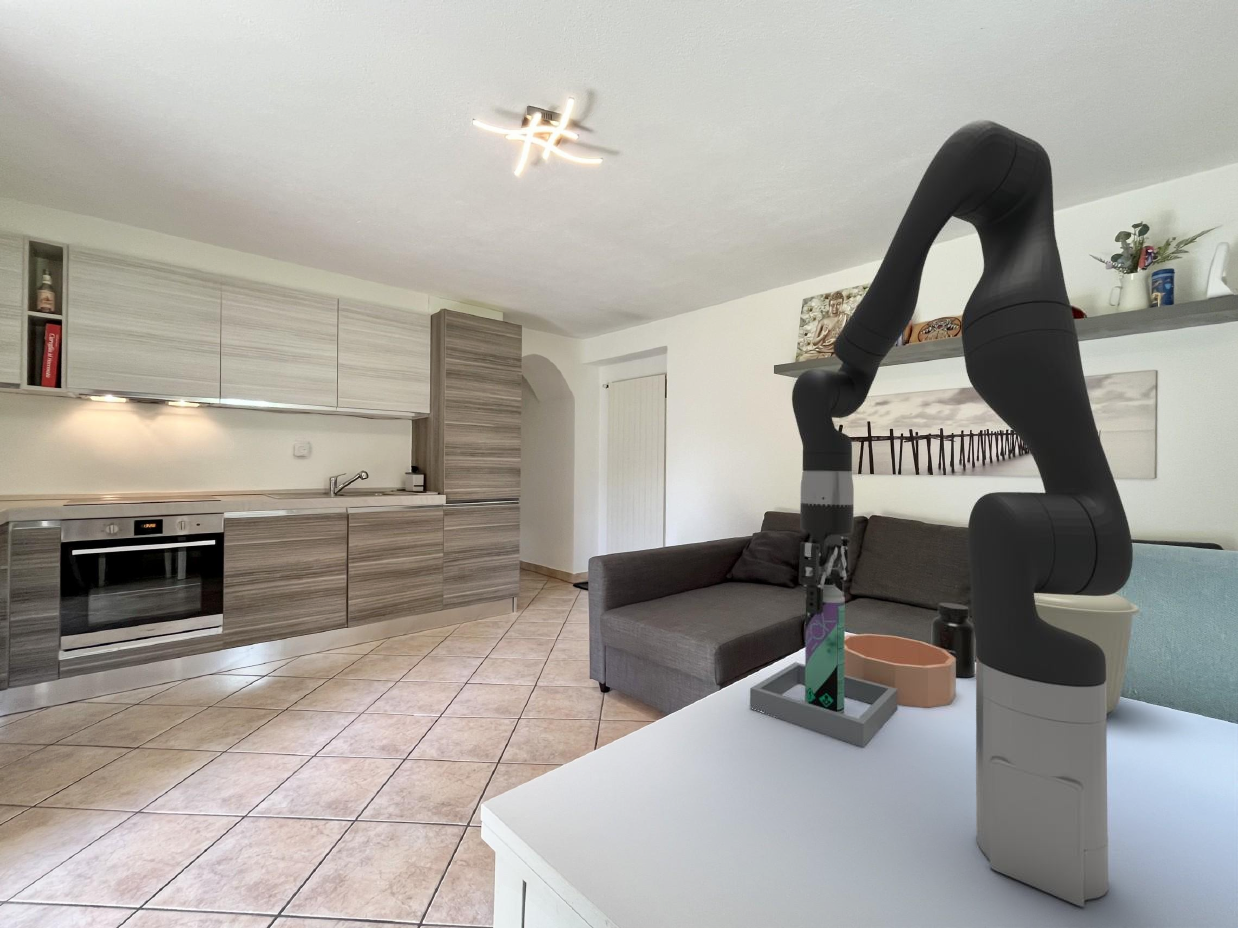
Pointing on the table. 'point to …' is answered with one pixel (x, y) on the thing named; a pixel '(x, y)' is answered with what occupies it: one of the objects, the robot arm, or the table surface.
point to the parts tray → (819, 718)
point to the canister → (1095, 629)
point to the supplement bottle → (955, 636)
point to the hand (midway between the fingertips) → (825, 608)
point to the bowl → (903, 668)
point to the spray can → (826, 651)
